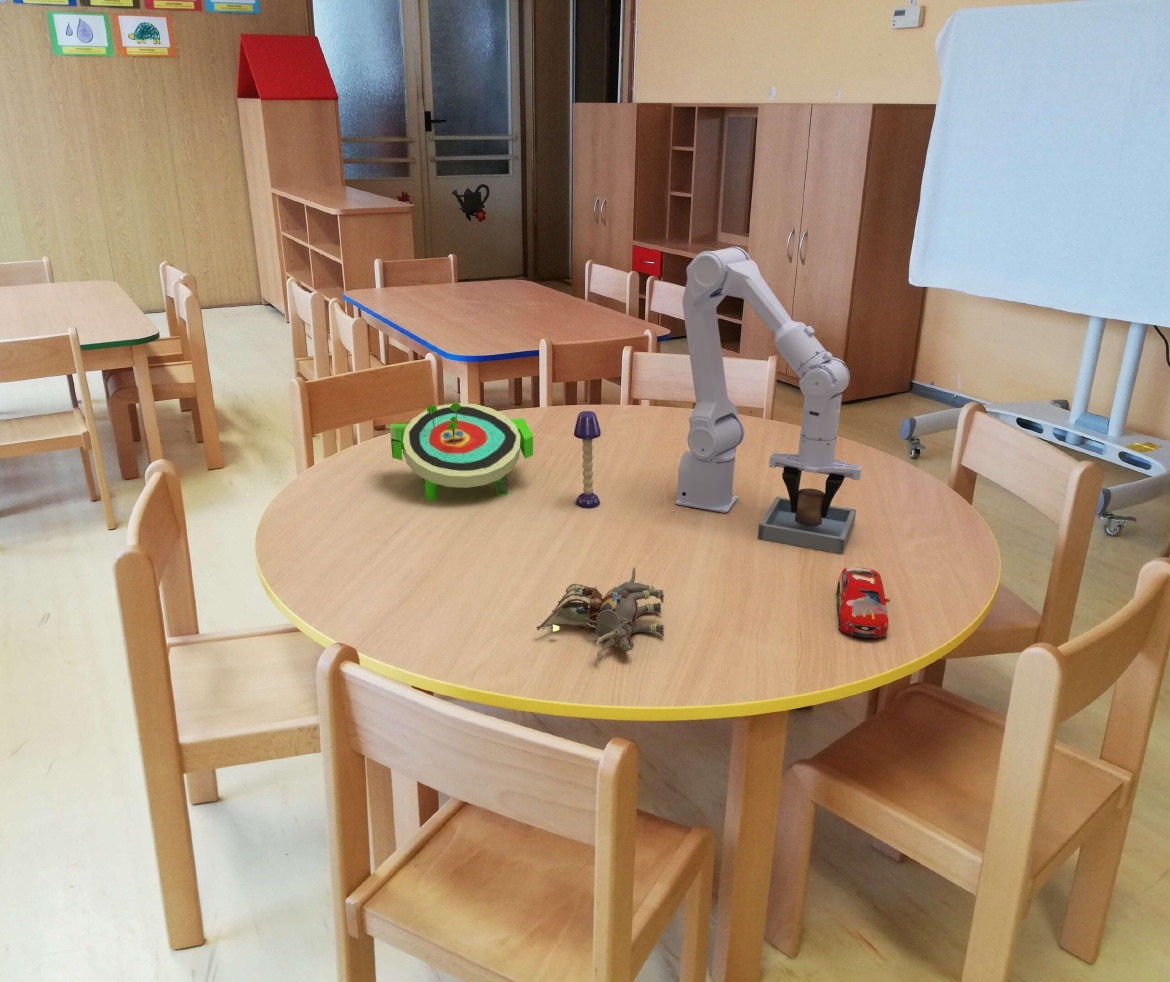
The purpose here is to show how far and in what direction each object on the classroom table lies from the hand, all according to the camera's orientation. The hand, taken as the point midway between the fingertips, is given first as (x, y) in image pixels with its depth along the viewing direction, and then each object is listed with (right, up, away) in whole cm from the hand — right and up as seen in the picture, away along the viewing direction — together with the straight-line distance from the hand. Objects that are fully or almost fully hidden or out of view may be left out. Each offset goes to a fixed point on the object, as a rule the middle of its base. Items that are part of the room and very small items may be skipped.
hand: (809, 513), depth 155 cm
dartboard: (-59, +4, +16) cm, 62 cm away
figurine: (-35, -15, -30) cm, 49 cm away
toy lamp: (-37, +1, +10) cm, 38 cm away
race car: (+1, -14, -24) cm, 28 cm away
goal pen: (0, -3, +1) cm, 3 cm away
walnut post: (0, -1, +1) cm, 2 cm away
